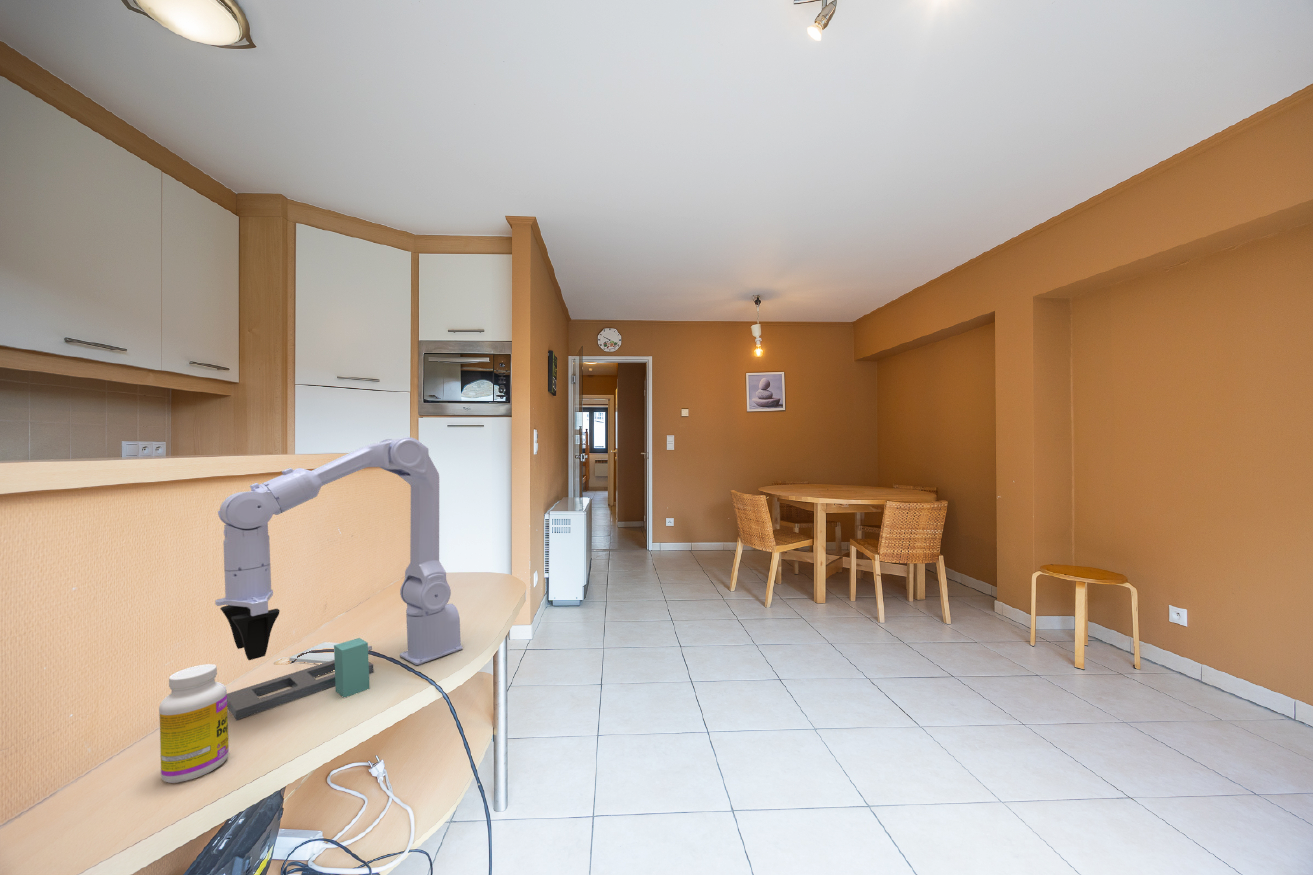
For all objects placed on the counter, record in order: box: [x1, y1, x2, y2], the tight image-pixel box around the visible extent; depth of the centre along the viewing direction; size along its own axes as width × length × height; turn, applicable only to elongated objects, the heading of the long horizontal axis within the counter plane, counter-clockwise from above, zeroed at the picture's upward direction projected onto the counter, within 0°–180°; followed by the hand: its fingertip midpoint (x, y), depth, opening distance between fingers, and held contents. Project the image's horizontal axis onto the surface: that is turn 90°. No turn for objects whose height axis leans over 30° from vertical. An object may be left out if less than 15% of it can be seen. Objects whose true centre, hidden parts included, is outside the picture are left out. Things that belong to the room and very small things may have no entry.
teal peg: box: [334, 637, 371, 698], centre depth 87 cm, size 4×4×8 cm
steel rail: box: [227, 660, 375, 721], centre depth 89 cm, size 20×9×2 cm, turn 140°
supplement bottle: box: [158, 663, 230, 784], centre depth 66 cm, size 7×7×13 cm
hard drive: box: [289, 641, 373, 664], centre depth 103 cm, size 2×8×12 cm
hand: (250, 651), depth 80 cm, fingers open, 7 cm apart
